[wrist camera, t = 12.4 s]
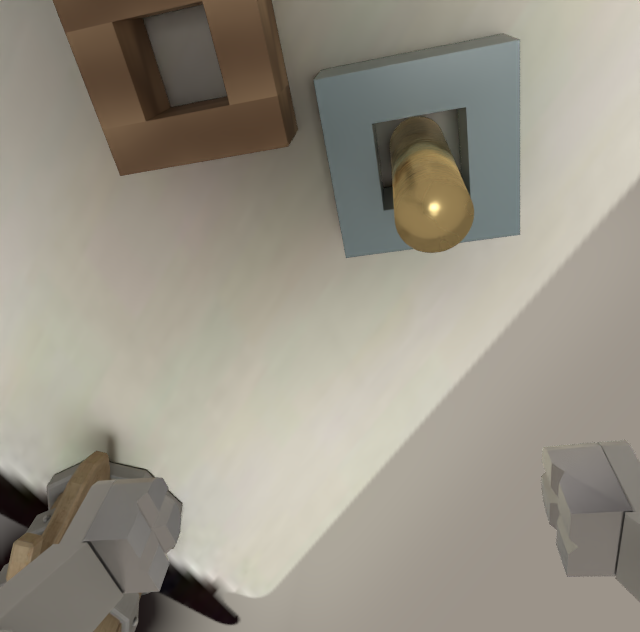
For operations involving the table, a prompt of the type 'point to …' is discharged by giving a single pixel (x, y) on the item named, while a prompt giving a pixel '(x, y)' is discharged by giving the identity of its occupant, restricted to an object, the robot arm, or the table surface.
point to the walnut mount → (149, 93)
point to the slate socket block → (418, 99)
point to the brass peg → (427, 188)
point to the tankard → (52, 524)
